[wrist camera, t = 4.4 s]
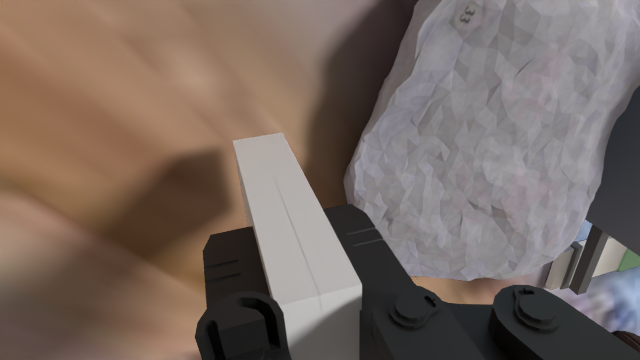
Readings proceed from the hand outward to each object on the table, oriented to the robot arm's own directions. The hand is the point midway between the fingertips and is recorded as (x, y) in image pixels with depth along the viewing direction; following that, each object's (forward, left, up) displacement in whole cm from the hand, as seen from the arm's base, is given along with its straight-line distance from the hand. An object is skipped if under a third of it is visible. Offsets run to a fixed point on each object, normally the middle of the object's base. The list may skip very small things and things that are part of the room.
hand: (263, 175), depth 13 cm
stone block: (0, +8, -3) cm, 9 cm away
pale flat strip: (+11, +21, -2) cm, 24 cm away
